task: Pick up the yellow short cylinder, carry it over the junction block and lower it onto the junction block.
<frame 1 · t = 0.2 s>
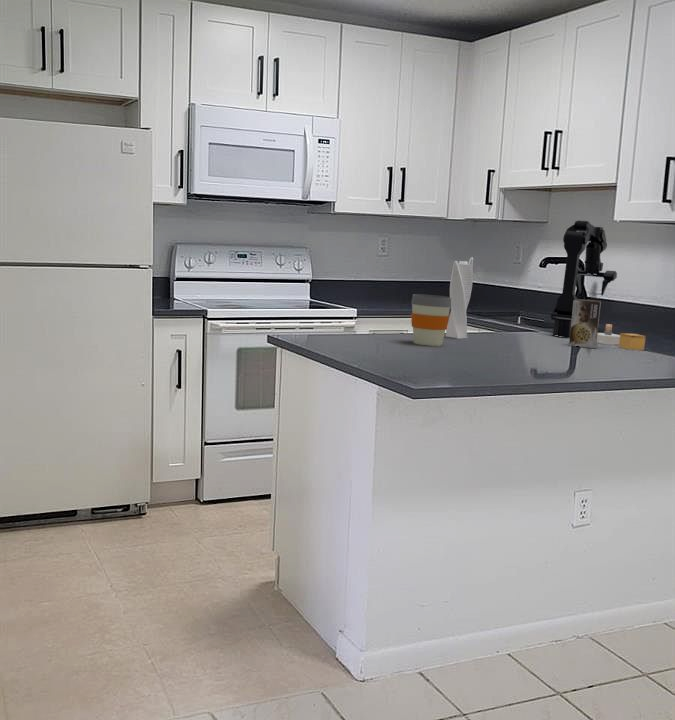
hand: (590, 294, 352), 15 cm above the countertop, tool pointing down, fingers open, 9 cm apart
junction block: (606, 342, 315), on the countertop
coffee box: (582, 347, 296), on the countertop
skyscraper: (456, 338, 294), on the countertop
reusable coffee cup: (427, 344, 269), on the countertop
yellow short cylinder: (631, 348, 300), on the countertop
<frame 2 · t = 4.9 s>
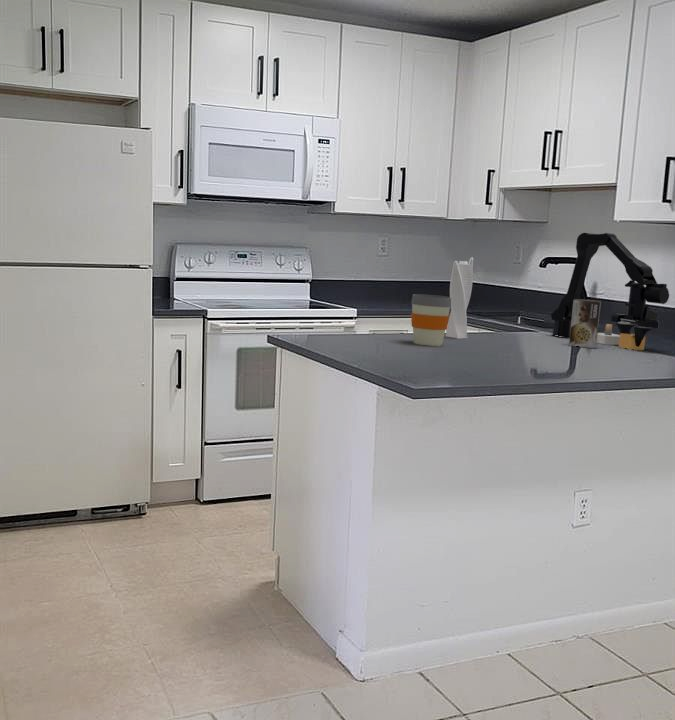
hand: (631, 345, 300), 1 cm above the countertop, tool pointing down, fingers closed on yellow short cylinder, 6 cm apart
yellow short cylinder: (631, 348, 300), on the countertop, touching gripper
everything else where it was.
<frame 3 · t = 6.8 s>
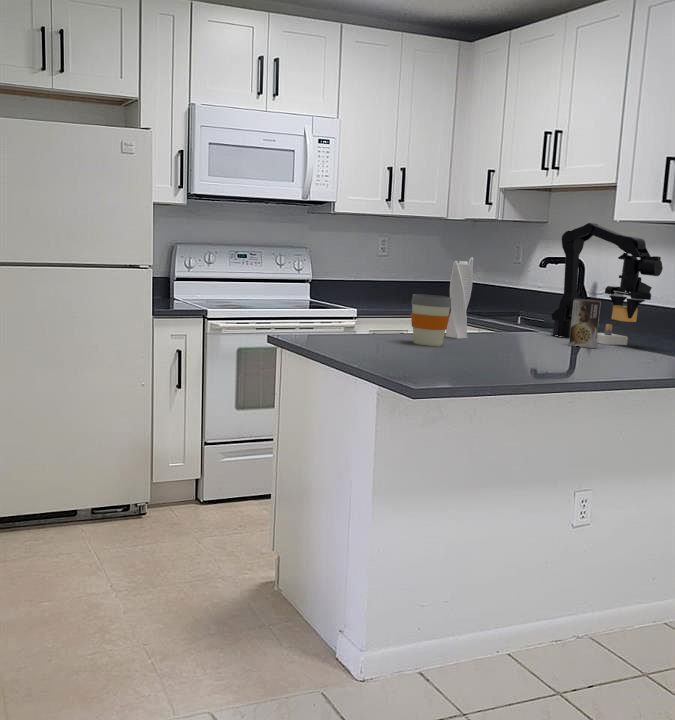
hand: (624, 317, 305), 10 cm above the countertop, tool pointing down, fingers closed on yellow short cylinder, 6 cm apart
yellow short cylinder: (623, 320, 305), point 9 cm above the countertop, touching gripper
everything else where it was.
when the fingers open (5 cm above the countertop, at t = 9.2 s): yellow short cylinder drops 1 cm, resting on junction block.
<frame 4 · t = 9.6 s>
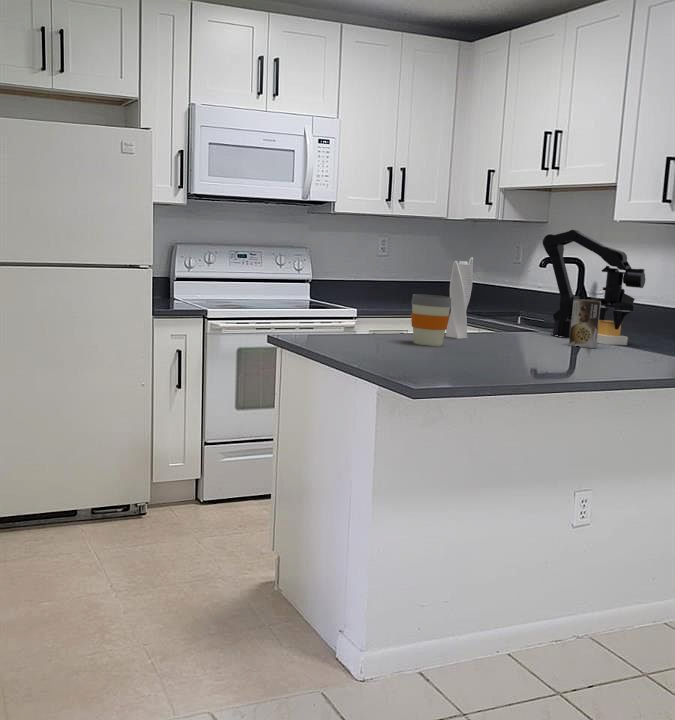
hand: (608, 327, 314), 6 cm above the countertop, tool pointing down, fingers open, 9 cm apart
yellow short cylinder: (607, 334, 314), point 3 cm above the countertop, touching junction block
everything else where it was.
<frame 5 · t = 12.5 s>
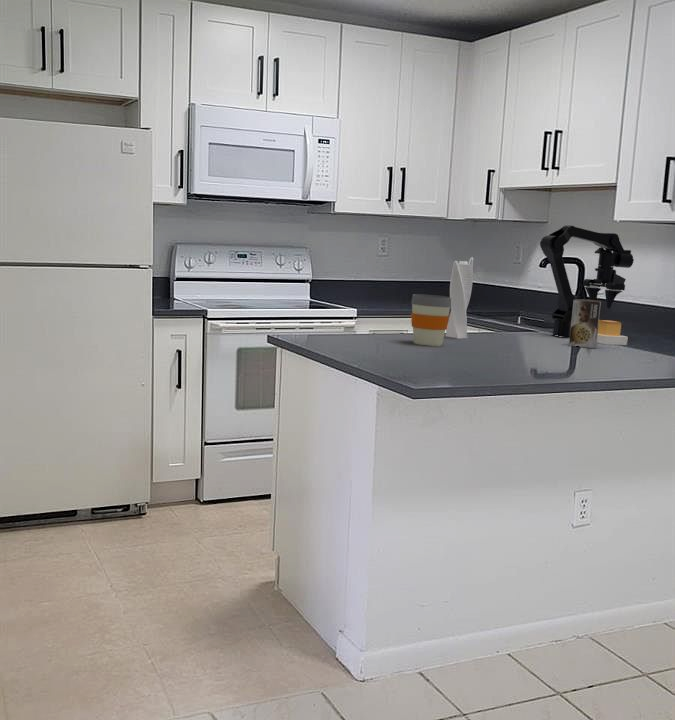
hand: (600, 307, 328), 12 cm above the countertop, tool pointing down, fingers open, 9 cm apart
nothing on the countertop moved.
at the end: yellow short cylinder 0.0 cm off-centre on the junction block, point 3.0 cm above the junction block's base; yellow short cylinder tilted 0°; the gripper is holding nothing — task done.
